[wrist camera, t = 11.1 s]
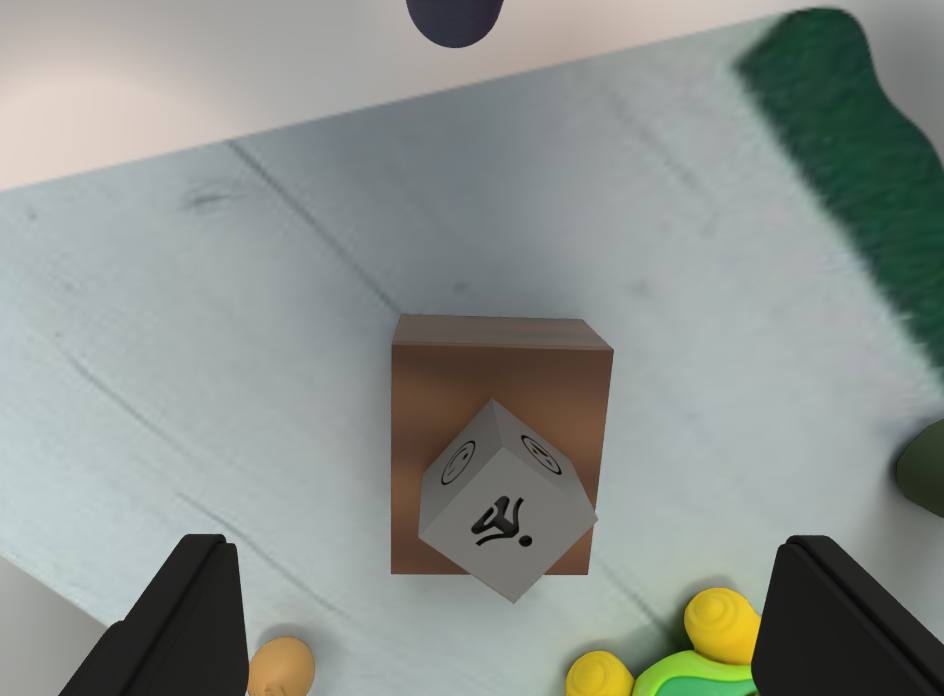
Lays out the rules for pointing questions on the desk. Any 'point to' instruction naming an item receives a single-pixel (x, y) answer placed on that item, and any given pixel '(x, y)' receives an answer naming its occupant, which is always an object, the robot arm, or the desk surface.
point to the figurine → (281, 669)
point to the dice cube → (503, 502)
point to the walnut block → (471, 387)
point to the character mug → (924, 470)
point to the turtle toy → (684, 656)
